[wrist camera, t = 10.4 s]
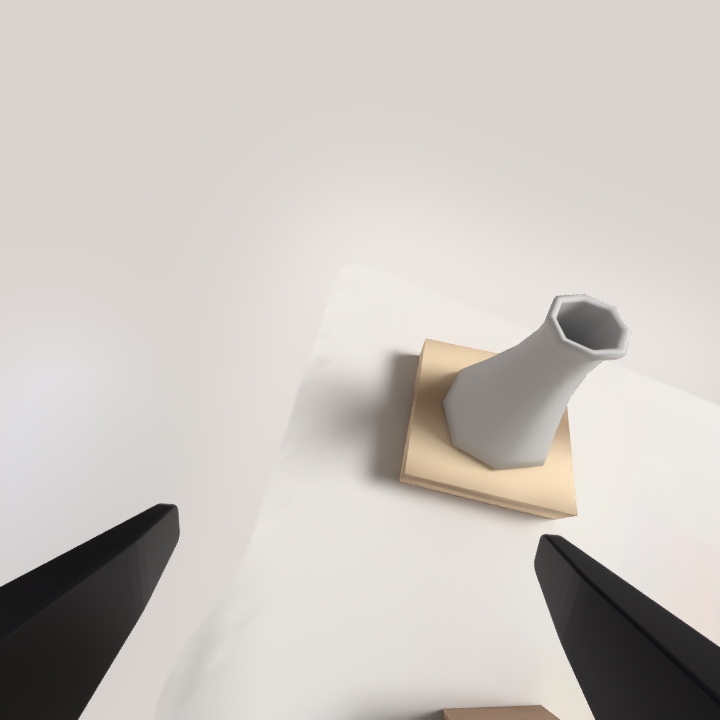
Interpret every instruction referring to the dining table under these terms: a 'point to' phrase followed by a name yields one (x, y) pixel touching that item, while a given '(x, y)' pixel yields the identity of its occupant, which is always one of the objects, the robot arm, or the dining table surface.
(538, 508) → the oak block
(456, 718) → the walnut cube
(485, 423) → the flask
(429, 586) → the dining table surface
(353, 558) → the dining table surface
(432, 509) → the dining table surface
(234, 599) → the dining table surface
